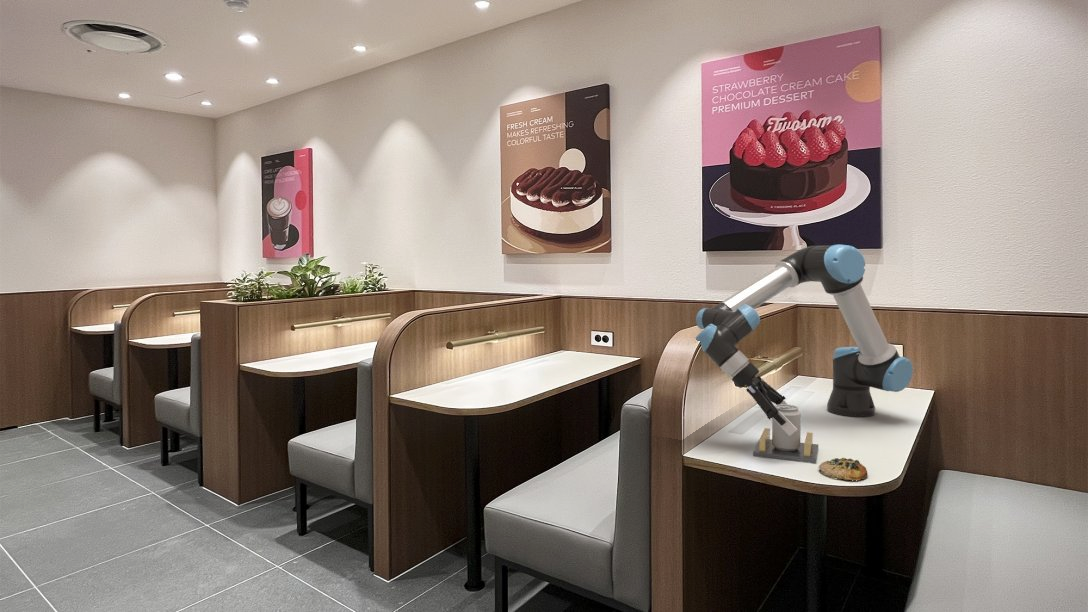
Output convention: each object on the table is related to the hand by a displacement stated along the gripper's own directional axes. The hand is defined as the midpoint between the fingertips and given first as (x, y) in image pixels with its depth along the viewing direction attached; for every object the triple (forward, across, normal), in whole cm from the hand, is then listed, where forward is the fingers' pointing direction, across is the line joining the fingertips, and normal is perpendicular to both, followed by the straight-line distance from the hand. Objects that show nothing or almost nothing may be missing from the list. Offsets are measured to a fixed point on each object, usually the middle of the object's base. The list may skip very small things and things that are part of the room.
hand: (795, 426), depth 173 cm
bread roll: (+14, +13, +3) cm, 20 cm away
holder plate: (+4, 0, -7) cm, 8 cm away
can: (+3, 0, -6) cm, 7 cm away
